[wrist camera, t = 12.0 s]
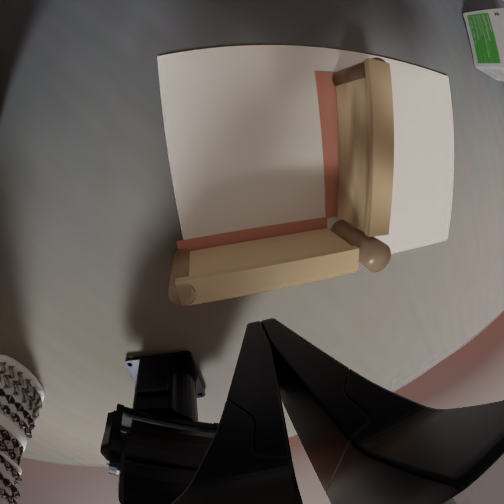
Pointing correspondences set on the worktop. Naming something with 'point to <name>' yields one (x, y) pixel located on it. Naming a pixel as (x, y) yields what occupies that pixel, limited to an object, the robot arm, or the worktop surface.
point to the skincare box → (487, 40)
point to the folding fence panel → (365, 145)
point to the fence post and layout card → (289, 168)
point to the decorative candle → (15, 421)
